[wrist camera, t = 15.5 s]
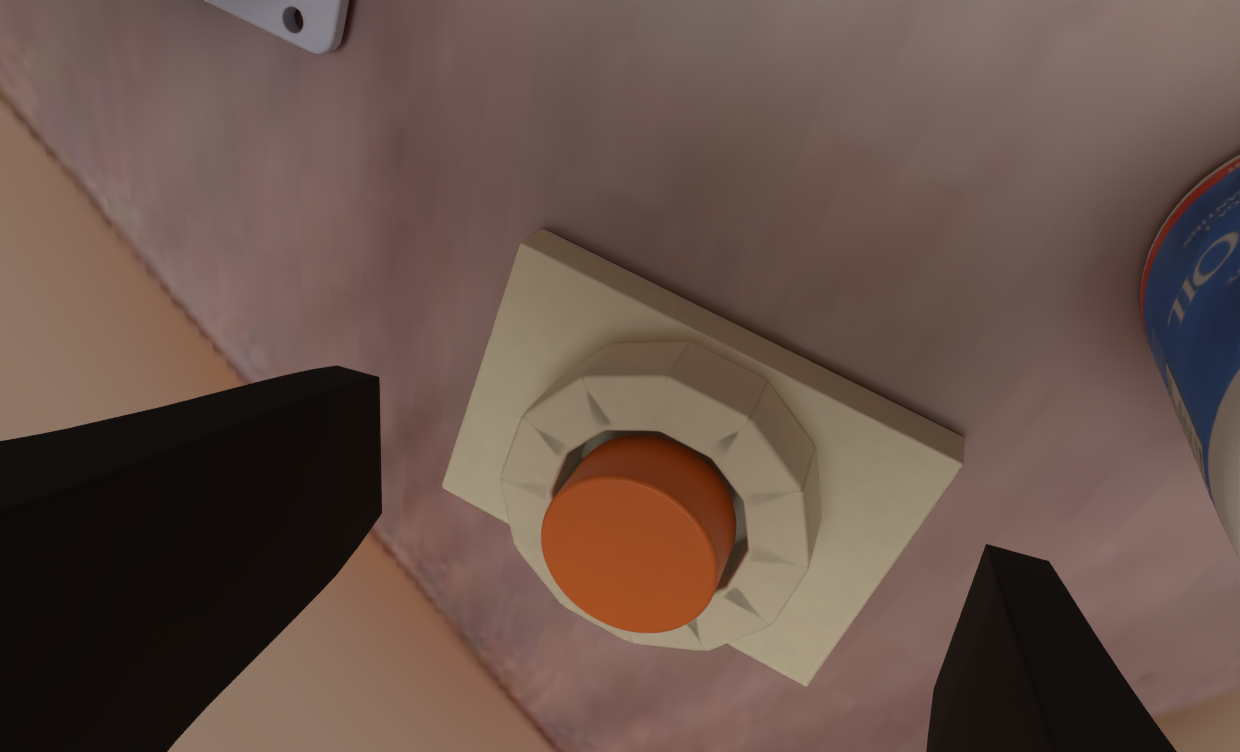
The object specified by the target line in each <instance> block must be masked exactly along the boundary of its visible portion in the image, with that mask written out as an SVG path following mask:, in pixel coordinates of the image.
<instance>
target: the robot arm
mask: <svg viewBox="0 0 1240 752" xmlns="http://www.w3.org/2000/svg"><path fill="white" fill-rule="evenodd" d="M204 1H206V2H208V3H210V4H212V5H214V6H216V7H218V8H220V9H222V10H224V11H226V12H228V13H230V14H232V15H234V16H236V17H239V18H241V19H243V20H245V21H247V22H249V23H251V24H253V25H255V26H257V27H259V28H261V29H263V30H265V31H267V32H269V33H271V34H274V35H276V36H278V37H280V38H282V39H284V40H286V41H288V42H290V43H292V44H294V45H296V46H298V47H300V48H302V49H304V50H306V51H309V52H311V53H315V54H323V53H328V52H332V51H334V50H335V49H336V48H337V47H338V46H339V45H340V42H341V40H342V37H343V31H344V26H345V20H346V15H347V9H348V4H349V0H204ZM296 9H297V10H299V11H300V13H301V15H302V17H303V24H304V25H303V28H302V30H301V29H300V28H298V26H297V24H296V22H295V17H294V13H295V11H296ZM381 514H382V489H381V437H380V384H379V377H377V376H373V375H370V374H366V373H362V372H359V371H355V370H351V369H348V368H344V367H340V366H331V367H324V368H317V369H312V370H307V371H302V372H298V373H293V374H289V375H284V376H280V377H276V378H272V379H268V380H264V381H260V382H256V383H252V384H248V385H244V386H240V387H236V388H233V389H229V390H225V391H221V392H217V393H213V394H209V395H205V396H202V397H198V398H194V399H190V400H187V401H183V402H178V403H175V404H171V405H167V406H163V407H159V408H155V409H151V410H146V411H142V412H137V413H133V414H128V415H124V416H120V417H115V418H111V419H107V420H102V421H98V422H94V423H89V424H85V425H80V426H76V427H72V428H67V429H63V430H58V431H53V432H48V433H43V434H38V435H32V436H27V437H21V438H16V439H10V440H4V441H0V752H167V751H168V750H169V749H170V747H171V746H172V745H173V744H174V742H175V741H176V740H177V739H178V738H179V737H180V736H181V735H182V734H183V732H184V731H185V730H186V729H187V728H188V727H189V726H190V725H191V724H192V723H193V722H194V720H195V719H196V718H197V717H198V716H199V715H200V714H201V713H202V712H203V711H204V710H205V708H206V707H207V706H208V705H209V704H210V703H211V702H212V701H213V700H214V699H215V698H216V697H217V696H218V695H219V694H220V693H221V692H222V691H223V690H224V689H225V688H226V687H227V686H228V685H229V684H230V683H231V682H232V681H233V680H234V679H235V678H236V677H237V676H238V675H239V674H240V673H241V672H242V671H243V670H244V669H245V668H246V667H247V666H248V665H249V664H250V663H251V662H252V661H253V660H254V659H255V658H256V657H257V656H258V655H259V654H260V653H261V652H262V651H263V650H264V649H265V648H266V647H267V646H268V645H269V644H270V642H272V641H273V640H274V639H275V638H276V637H277V636H278V635H279V634H280V633H281V632H282V631H283V630H284V629H285V628H286V627H287V626H288V625H289V624H290V623H291V622H292V620H294V619H295V618H296V617H297V616H298V615H299V613H300V612H301V611H302V610H303V609H304V608H305V607H306V606H307V605H308V604H309V603H310V602H311V601H312V600H313V599H314V598H315V597H316V596H317V595H318V594H319V593H320V592H321V591H322V590H323V589H324V588H325V587H326V586H327V584H328V583H329V582H330V581H331V580H332V579H333V578H334V577H335V576H336V575H337V574H338V572H339V571H340V570H341V568H342V567H343V566H344V565H345V563H346V562H347V561H348V559H349V558H350V557H351V555H352V554H353V553H354V551H355V550H356V549H357V548H358V546H359V545H360V544H361V542H362V541H363V539H364V538H365V536H366V535H367V534H368V532H369V531H370V529H371V528H372V527H373V525H374V524H375V522H376V521H377V519H378V518H379V517H380V515H381ZM926 752H1177V751H1176V750H1175V749H1174V747H1173V746H1172V745H1171V744H1170V742H1169V740H1168V739H1167V738H1166V736H1165V735H1164V734H1163V732H1162V731H1161V730H1160V728H1159V727H1158V725H1157V724H1156V723H1155V721H1154V720H1153V718H1152V717H1151V716H1150V714H1149V713H1148V711H1147V710H1146V709H1145V707H1144V706H1143V704H1142V703H1141V702H1140V700H1139V699H1138V697H1137V696H1136V694H1135V693H1134V691H1133V690H1132V688H1131V687H1130V686H1129V684H1128V683H1127V681H1126V680H1125V678H1124V677H1123V675H1122V674H1121V672H1120V671H1119V669H1118V668H1117V666H1116V665H1115V663H1114V662H1113V660H1112V659H1111V657H1110V656H1109V654H1108V653H1107V651H1106V650H1105V648H1104V647H1103V645H1102V644H1101V642H1100V640H1099V639H1098V637H1097V636H1096V634H1095V633H1094V631H1093V630H1092V628H1091V627H1090V625H1089V623H1088V622H1087V620H1086V619H1085V617H1084V616H1083V614H1082V612H1081V611H1080V609H1079V608H1078V606H1077V604H1076V603H1075V601H1074V600H1073V598H1072V597H1071V595H1070V593H1069V592H1068V590H1067V589H1066V587H1065V585H1064V584H1063V582H1062V581H1061V579H1060V578H1059V576H1058V574H1057V573H1056V571H1055V570H1054V568H1053V567H1052V565H1051V564H1050V562H1049V561H1046V560H1043V559H1039V558H1035V557H1032V556H1028V555H1024V554H1021V553H1017V552H1013V551H1010V550H1006V549H1003V548H999V547H995V546H992V545H988V544H986V546H985V549H984V551H983V554H982V557H981V560H980V562H979V565H978V568H977V571H976V574H975V576H974V579H973V582H972V585H971V587H970V590H969V593H968V596H967V598H966V601H965V604H964V607H963V609H962V612H961V615H960V618H959V621H958V623H957V626H956V629H955V632H954V634H953V637H952V640H951V643H950V645H949V648H948V651H947V654H946V656H945V659H944V662H943V665H942V667H941V670H940V673H939V676H938V679H937V681H936V684H935V687H934V691H933V700H932V708H931V716H930V724H929V733H928V741H927V751H926Z"/></svg>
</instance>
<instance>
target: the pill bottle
mask: <svg viewBox="0 0 1240 752" xmlns="http://www.w3.org/2000/svg"><path fill="white" fill-rule="evenodd" d="M1140 302H1141V314H1142V321H1143V327H1144V331H1145V335H1146V339H1147V341H1148V344H1149V347H1150V349H1151V352H1152V354H1153V356H1154V359H1155V361H1156V364H1157V366H1158V368H1159V370H1160V373H1161V375H1162V378H1163V380H1164V382H1165V385H1166V387H1167V390H1168V392H1169V395H1170V397H1171V400H1172V402H1173V405H1174V408H1175V410H1176V413H1177V416H1178V418H1179V421H1180V423H1181V425H1182V428H1183V430H1184V433H1185V435H1186V438H1187V440H1188V442H1189V445H1190V447H1191V450H1192V452H1193V455H1194V457H1195V460H1196V462H1197V465H1198V467H1199V469H1200V472H1201V474H1202V477H1203V479H1204V482H1205V484H1206V487H1207V490H1208V493H1209V496H1210V498H1211V500H1212V502H1213V504H1214V507H1215V509H1216V511H1217V514H1218V516H1219V518H1220V521H1221V523H1222V525H1223V527H1224V529H1225V531H1226V533H1227V535H1228V538H1229V540H1230V542H1231V544H1232V546H1233V548H1234V550H1235V552H1236V554H1237V556H1238V558H1239V559H1240V155H1238V156H1236V157H1234V158H1233V159H1231V160H1229V161H1228V162H1226V163H1224V164H1223V165H1221V166H1220V167H1219V168H1217V169H1216V170H1215V171H1213V172H1212V173H1210V174H1209V175H1208V176H1206V177H1205V178H1204V179H1203V180H1201V181H1200V182H1199V183H1198V184H1197V185H1196V186H1195V187H1194V188H1193V189H1192V190H1191V191H1189V192H1188V193H1187V194H1186V195H1185V196H1184V198H1183V199H1182V200H1181V201H1180V202H1179V203H1178V204H1177V206H1176V207H1175V208H1174V209H1173V210H1172V212H1171V213H1170V214H1169V216H1168V217H1167V219H1166V220H1165V222H1164V223H1163V225H1162V227H1161V228H1160V230H1159V232H1158V234H1157V235H1156V237H1155V240H1154V242H1153V244H1152V246H1151V249H1150V251H1149V253H1148V257H1147V260H1146V263H1145V267H1144V271H1143V276H1142V283H1141V294H1140Z"/></svg>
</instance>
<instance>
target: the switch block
mask: <svg viewBox="0 0 1240 752" xmlns="http://www.w3.org/2000/svg"><path fill="white" fill-rule="evenodd" d="M626 436H652V437H657V438H662V439H665V440H668V441H671V442H674V443H676V444H678V445H681V446H683V447H685V448H686V449H688V450H690V451H691V452H693V453H695V454H696V455H697V456H699V457H700V458H701V459H703V460H704V461H705V462H706V463H707V464H708V465H709V466H710V467H711V468H712V469H713V470H714V471H715V472H716V474H717V475H718V476H719V477H720V479H721V480H722V482H723V483H724V485H725V486H726V488H727V490H728V492H729V494H730V497H731V500H732V503H733V506H734V509H735V514H736V527H737V528H736V537H735V541H734V544H733V547H732V550H731V552H730V555H729V557H728V560H727V563H726V565H725V568H724V570H723V573H722V575H721V578H720V580H719V583H718V585H717V588H716V591H715V593H714V595H713V597H712V599H711V602H710V603H709V604H708V606H707V607H706V609H705V610H704V611H703V612H702V613H701V614H700V615H699V616H698V617H696V618H695V619H694V620H692V621H691V622H689V623H688V624H686V625H684V626H682V627H680V628H677V629H674V630H671V631H666V632H661V633H636V632H630V631H625V630H622V629H618V628H615V627H612V626H610V625H607V624H605V623H603V622H601V621H599V620H597V619H595V618H593V617H592V616H590V615H589V614H587V613H585V612H584V611H583V610H582V609H580V608H579V607H578V606H576V605H575V604H574V603H573V602H572V601H571V600H570V599H569V598H568V597H567V596H566V595H565V594H564V593H563V591H562V590H561V589H560V588H559V586H558V585H557V583H556V582H555V580H554V579H553V577H552V575H551V573H550V572H549V569H548V567H547V565H546V562H545V559H544V555H543V551H542V544H541V529H542V522H543V518H544V515H545V512H546V510H547V508H548V506H549V504H550V503H551V501H552V500H553V499H554V497H555V496H556V495H557V493H558V492H559V491H560V489H561V488H562V487H563V485H564V484H565V483H566V481H567V480H568V479H569V478H570V476H571V475H572V474H573V472H574V471H575V470H576V468H577V467H578V466H579V464H580V463H581V462H582V460H583V459H584V458H585V457H586V456H587V455H588V454H589V453H590V452H591V451H592V450H593V449H595V448H596V447H598V446H599V445H601V444H603V443H605V442H607V441H610V440H613V439H616V438H621V437H626ZM963 465H964V438H963V437H962V436H960V435H958V434H956V433H954V432H952V431H950V430H948V429H946V428H944V427H942V426H940V425H938V424H936V423H934V422H932V421H930V420H928V419H926V418H924V417H922V416H920V415H918V414H916V413H914V412H912V411H910V410H908V409H906V408H904V407H902V406H900V405H898V404H896V403H894V402H892V401H890V400H888V399H886V398H884V397H882V396H880V395H878V394H876V393H873V392H871V391H869V390H867V389H865V388H863V387H861V386H859V385H857V384H855V383H853V382H851V381H849V380H847V379H845V378H843V377H841V376H839V375H837V374H835V373H833V372H831V371H829V370H827V369H825V368H823V367H821V366H819V365H817V364H815V363H813V362H811V361H809V360H807V359H805V358H803V357H801V356H799V355H797V354H795V353H793V352H791V351H789V350H787V349H785V348H783V347H781V346H779V345H777V344H775V343H773V342H771V341H769V340H767V339H765V338H763V337H761V336H759V335H757V334H755V333H753V332H751V331H749V330H747V329H745V328H742V327H740V326H738V325H736V324H734V323H732V322H730V321H728V320H726V319H724V318H722V317H720V316H718V315H716V314H714V313H712V312H710V311H708V310H706V309H704V308H702V307H700V306H698V305H696V304H694V303H692V302H690V301H688V300H686V299H684V298H682V297H680V296H678V295H676V294H674V293H672V292H670V291H668V290H666V289H664V288H662V287H660V286H658V285H656V284H654V283H652V282H650V281H648V280H646V279H644V278H642V277H640V276H638V275H636V274H634V273H632V272H630V271H628V270H626V269H624V268H622V267H620V266H618V265H616V264H614V263H612V262H609V261H607V260H605V259H603V258H601V257H599V256H597V255H595V254H593V253H591V252H589V251H587V250H585V249H583V248H581V247H579V246H577V245H575V244H573V243H571V242H569V241H567V240H565V239H563V238H561V237H559V236H557V235H555V234H553V233H551V232H549V231H547V230H545V229H541V230H540V231H538V232H537V233H535V234H533V235H532V236H530V237H529V238H527V239H526V240H524V241H523V242H521V243H520V245H519V248H518V251H517V254H516V258H515V261H514V264H513V267H512V270H511V273H510V276H509V279H508V282H507V285H506V288H505V292H504V295H503V298H502V301H501V304H500V307H499V310H498V313H497V316H496V319H495V323H494V326H493V329H492V332H491V335H490V338H489V341H488V344H487V347H486V350H485V354H484V357H483V360H482V363H481V366H480V369H479V372H478V375H477V378H476V381H475V385H474V388H473V391H472V394H471V397H470V400H469V403H468V406H467V409H466V412H465V416H464V419H463V422H462V425H461V428H460V431H459V434H458V437H457V440H456V443H455V446H454V450H453V453H452V456H451V459H450V462H449V465H448V468H447V471H446V474H445V477H444V481H443V484H442V488H443V489H445V490H447V491H449V492H451V493H453V494H454V495H456V496H458V497H460V498H462V499H464V500H465V501H467V502H469V503H471V504H473V505H475V506H476V507H478V508H480V509H482V510H484V511H486V512H487V513H489V514H491V515H493V516H495V517H496V518H498V519H500V520H502V521H504V522H506V523H507V524H509V525H510V528H511V532H512V537H513V541H514V544H515V545H516V548H517V550H518V551H519V553H520V554H521V555H522V556H523V558H524V559H525V560H526V561H527V563H528V564H529V565H530V566H531V568H532V569H533V570H534V571H535V573H536V574H537V575H538V576H539V578H540V579H541V580H542V581H543V583H544V584H545V585H546V586H547V587H548V589H549V590H550V591H551V592H552V594H553V595H554V596H555V597H556V599H557V600H558V601H559V602H560V603H561V604H564V606H565V607H566V608H568V609H569V610H571V611H573V612H575V613H577V614H578V615H580V616H582V617H584V618H586V619H587V620H589V621H591V622H593V623H595V624H596V625H598V626H600V627H602V628H604V629H605V630H607V631H609V632H611V633H613V634H614V635H616V636H618V637H620V638H622V639H623V640H625V641H627V642H630V641H631V642H632V643H634V644H641V645H651V646H660V647H669V648H678V649H687V650H697V651H704V650H706V651H709V650H712V649H714V648H717V647H719V646H722V645H724V644H729V645H730V646H732V647H734V648H736V649H738V650H740V651H741V652H743V653H745V654H747V655H749V656H750V657H752V658H754V659H756V660H758V661H760V662H761V663H763V664H765V665H767V666H769V667H771V668H772V669H774V670H776V671H778V672H780V673H782V674H783V675H785V676H787V677H789V678H791V679H792V680H794V681H796V682H798V683H800V684H802V685H803V686H807V685H808V684H809V683H810V681H811V680H812V679H813V677H814V676H815V674H816V673H817V671H818V670H819V669H820V667H821V666H822V664H823V663H824V662H825V660H826V659H827V657H828V656H829V655H830V653H831V652H832V650H833V649H834V647H835V646H836V645H837V643H838V642H839V640H840V639H841V638H842V636H843V635H844V633H845V632H846V631H847V629H848V628H849V626H850V625H851V624H852V622H853V621H854V619H855V618H856V616H857V615H858V614H859V612H860V611H861V609H862V608H863V607H864V605H865V604H866V602H867V601H868V600H869V598H870V597H871V595H872V594H873V592H874V591H875V590H876V588H877V587H878V585H879V584H880V583H881V581H882V580H883V578H884V577H885V576H886V574H887V573H888V571H889V570H890V568H891V567H892V566H893V564H894V563H895V561H896V560H897V559H898V557H899V556H900V554H901V553H902V552H903V550H904V549H905V547H906V546H907V544H908V543H909V542H910V540H911V539H912V537H913V536H914V535H915V533H916V532H917V530H918V529H919V528H920V526H921V525H922V523H923V522H924V520H925V519H926V518H927V516H928V515H929V513H930V512H931V511H932V509H933V508H934V506H935V505H936V504H937V502H938V501H939V499H940V498H941V496H942V495H943V494H944V492H945V491H946V489H947V488H948V487H949V485H950V484H951V482H952V481H953V480H954V478H955V477H956V475H957V474H958V472H959V471H960V470H961V468H962V467H963Z"/></svg>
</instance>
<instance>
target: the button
mask: <svg viewBox="0 0 1240 752" xmlns="http://www.w3.org/2000/svg"><path fill="white" fill-rule="evenodd" d="M736 528H737V527H736V514H735V509H734V506H733V503H732V500H731V497H730V494H729V492H728V490H727V488H726V486H725V485H724V483H723V482H722V480H721V479H720V477H719V476H718V475H717V474H716V472H715V471H714V470H713V469H712V468H711V467H710V466H709V465H708V464H707V463H706V462H705V461H704V460H703V459H701V458H700V457H699V456H697V455H696V454H695V453H693V452H691V451H690V450H688V449H686V448H685V447H683V446H681V445H678V444H676V443H674V442H671V441H668V440H665V439H662V438H657V437H652V436H626V437H621V438H616V439H613V440H610V441H607V442H605V443H603V444H601V445H599V446H598V447H596V448H595V449H593V450H592V451H591V452H590V453H589V454H588V455H587V456H586V457H585V458H584V459H583V460H582V462H581V463H580V464H579V466H578V467H577V468H576V470H575V471H574V472H573V474H572V475H571V476H570V478H569V479H568V480H567V481H566V483H565V484H564V485H563V487H562V488H561V489H560V491H559V492H558V493H557V495H556V496H555V497H554V499H553V500H552V501H551V503H550V504H549V506H548V508H547V510H546V512H545V515H544V518H543V522H542V529H541V544H542V551H543V555H544V559H545V562H546V565H547V567H548V569H549V572H550V573H551V575H552V577H553V579H554V580H555V582H556V583H557V585H558V586H559V588H560V589H561V590H562V591H563V593H564V594H565V595H566V596H567V597H568V598H569V599H570V600H571V601H572V602H573V603H574V604H575V605H576V606H578V607H579V608H580V609H582V610H583V611H584V612H585V613H587V614H589V615H590V616H592V617H593V618H595V619H597V620H599V621H601V622H603V623H605V624H607V625H610V626H612V627H615V628H618V629H622V630H625V631H630V632H636V633H661V632H666V631H671V630H674V629H677V628H680V627H682V626H684V625H686V624H688V623H689V622H691V621H692V620H694V619H695V618H696V617H698V616H699V615H700V614H701V613H702V612H703V611H704V610H705V609H706V607H707V606H708V604H709V603H710V602H711V599H712V597H713V595H714V593H715V591H716V588H717V585H718V583H719V580H720V578H721V575H722V573H723V570H724V568H725V565H726V563H727V560H728V557H729V555H730V552H731V550H732V547H733V544H734V541H735V537H736Z"/></svg>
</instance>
